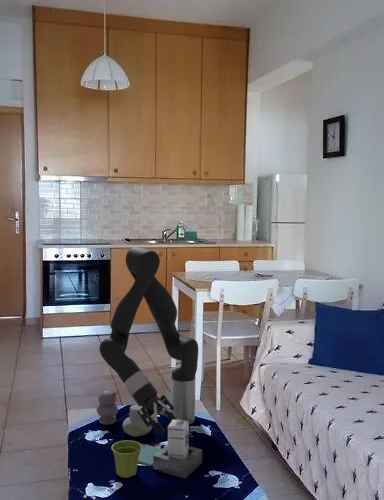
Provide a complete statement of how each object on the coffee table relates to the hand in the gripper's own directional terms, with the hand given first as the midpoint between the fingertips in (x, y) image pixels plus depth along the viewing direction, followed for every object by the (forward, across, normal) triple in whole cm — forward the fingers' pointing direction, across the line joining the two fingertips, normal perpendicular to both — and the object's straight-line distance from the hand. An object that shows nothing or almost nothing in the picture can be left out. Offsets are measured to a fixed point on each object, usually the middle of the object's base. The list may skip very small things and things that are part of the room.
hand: (169, 429), depth 175 cm
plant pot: (+3, -12, +14) cm, 19 cm away
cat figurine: (-18, +17, +35) cm, 43 cm away
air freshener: (-7, +14, +24) cm, 29 cm away
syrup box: (+11, 0, +6) cm, 12 cm away
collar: (+11, 0, +6) cm, 12 cm away
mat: (+2, +1, +15) cm, 15 cm away
